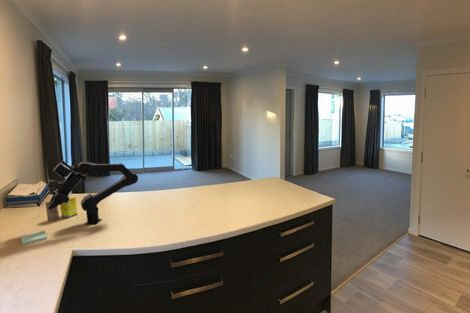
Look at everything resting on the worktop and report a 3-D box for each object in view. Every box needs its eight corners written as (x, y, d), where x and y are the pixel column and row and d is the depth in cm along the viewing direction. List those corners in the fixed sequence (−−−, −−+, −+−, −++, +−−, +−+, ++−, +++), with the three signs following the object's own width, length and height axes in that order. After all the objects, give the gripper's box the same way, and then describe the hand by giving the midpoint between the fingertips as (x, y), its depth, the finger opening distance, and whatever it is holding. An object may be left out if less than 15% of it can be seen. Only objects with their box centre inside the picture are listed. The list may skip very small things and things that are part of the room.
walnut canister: (51, 217, 159) (49, 201, 158) (61, 217, 159) (59, 200, 158) (45, 221, 154) (43, 204, 153) (55, 221, 154) (53, 204, 153)
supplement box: (61, 217, 177) (58, 198, 175) (70, 213, 182) (67, 195, 181) (69, 218, 175) (66, 199, 173) (77, 214, 180) (75, 196, 178)
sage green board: (21, 237, 150) (20, 235, 150) (45, 232, 156) (44, 230, 156) (22, 244, 142) (21, 242, 142) (47, 238, 148) (46, 236, 148)
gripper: (54, 170, 163) (33, 194, 158) (58, 176, 147) (34, 203, 143) (73, 182, 168) (52, 206, 164) (78, 189, 153) (56, 216, 149)
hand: (48, 207), depth 155 cm, fingers closed on walnut canister, 5 cm apart
